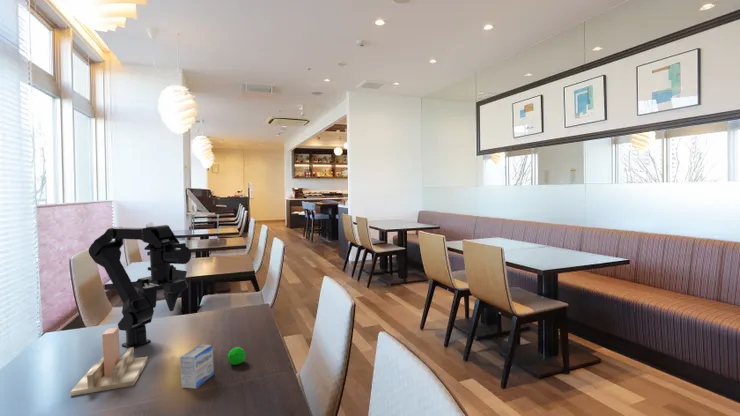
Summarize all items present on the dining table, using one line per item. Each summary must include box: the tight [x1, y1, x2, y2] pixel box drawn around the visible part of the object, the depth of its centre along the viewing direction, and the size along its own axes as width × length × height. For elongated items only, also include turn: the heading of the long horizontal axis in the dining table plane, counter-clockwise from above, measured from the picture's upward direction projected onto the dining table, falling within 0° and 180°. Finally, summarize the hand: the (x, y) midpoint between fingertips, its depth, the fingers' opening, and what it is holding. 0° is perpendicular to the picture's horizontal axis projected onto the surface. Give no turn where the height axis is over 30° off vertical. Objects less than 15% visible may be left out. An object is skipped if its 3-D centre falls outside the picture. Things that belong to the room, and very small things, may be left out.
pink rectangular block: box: [101, 326, 121, 377], centre depth 104 cm, size 4×3×12 cm, turn 19°
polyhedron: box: [227, 346, 246, 366], centre depth 110 cm, size 5×5×5 cm
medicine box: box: [179, 344, 215, 390], centre depth 100 cm, size 8×4×9 cm, turn 169°
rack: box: [70, 347, 149, 397], centre depth 104 cm, size 16×14×5 cm
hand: (162, 309), depth 123 cm, fingers open, 9 cm apart
